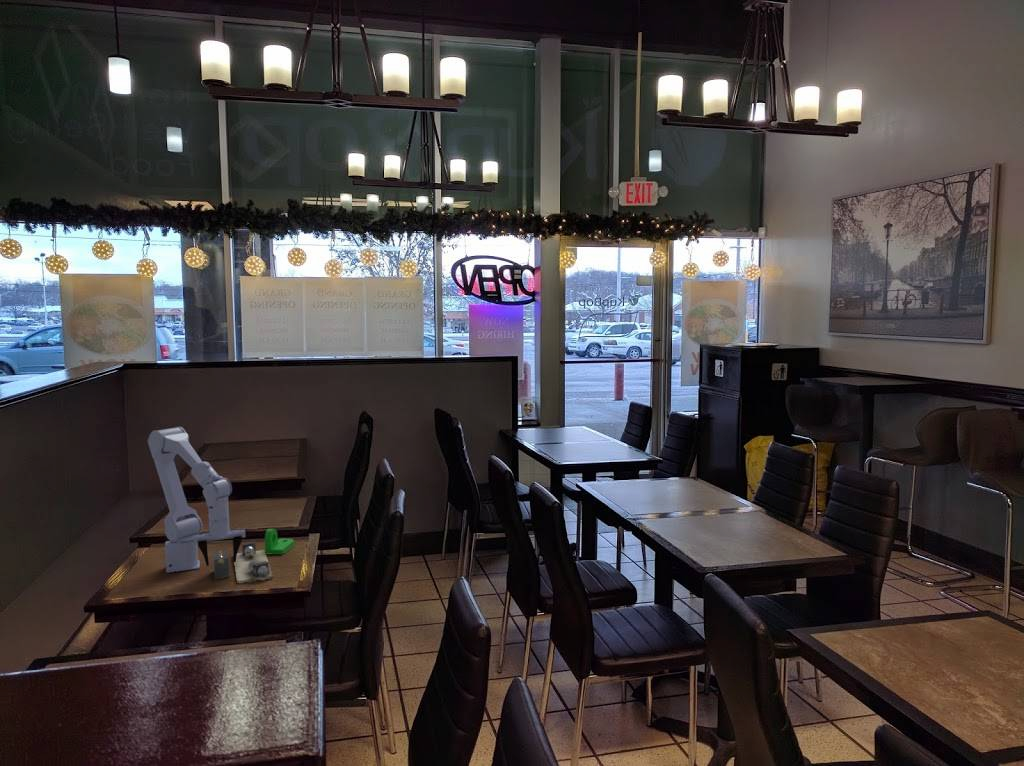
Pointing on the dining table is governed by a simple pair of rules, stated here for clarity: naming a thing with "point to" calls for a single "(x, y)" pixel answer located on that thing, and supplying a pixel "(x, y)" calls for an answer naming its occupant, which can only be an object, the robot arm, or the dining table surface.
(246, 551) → the metal cylinder fitting
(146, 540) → the dining table surface
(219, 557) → the grey slotted block
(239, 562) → the board
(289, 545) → the mechanical part
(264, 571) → the angled shaft
